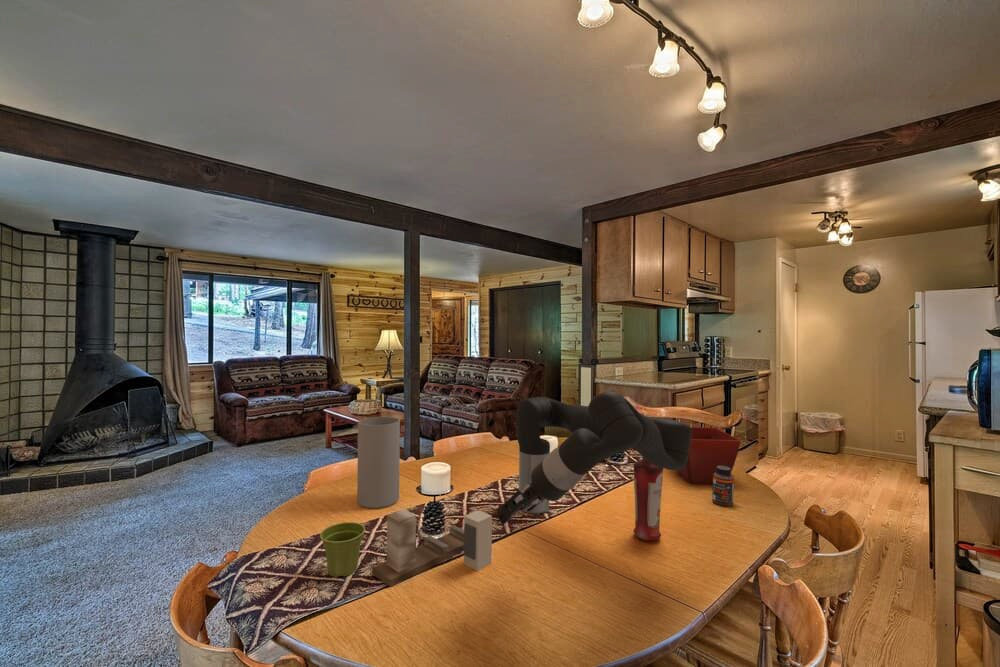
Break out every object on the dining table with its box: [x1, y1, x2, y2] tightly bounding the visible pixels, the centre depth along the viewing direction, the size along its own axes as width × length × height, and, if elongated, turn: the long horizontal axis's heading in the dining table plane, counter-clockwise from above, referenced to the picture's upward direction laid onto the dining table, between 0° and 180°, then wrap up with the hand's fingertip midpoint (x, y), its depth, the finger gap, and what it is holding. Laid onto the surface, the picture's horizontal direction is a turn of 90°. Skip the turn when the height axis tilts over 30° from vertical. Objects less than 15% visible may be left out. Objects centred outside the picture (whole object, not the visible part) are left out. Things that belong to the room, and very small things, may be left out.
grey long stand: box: [371, 508, 464, 588], centre depth 102 cm, size 24×7×12 cm, turn 138°
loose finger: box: [463, 509, 493, 572], centre depth 100 cm, size 5×4×11 cm
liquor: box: [633, 457, 664, 543], centre depth 114 cm, size 7×7×28 cm
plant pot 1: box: [319, 521, 366, 578], centre depth 97 cm, size 9×9×9 cm
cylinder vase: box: [356, 416, 401, 509], centre depth 136 cm, size 12×12×25 cm
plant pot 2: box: [676, 426, 741, 485], centre depth 161 cm, size 19×19×17 cm
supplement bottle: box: [711, 466, 735, 507], centre depth 138 cm, size 6×6×11 cm
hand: (514, 513), depth 93 cm, fingers open, 8 cm apart
